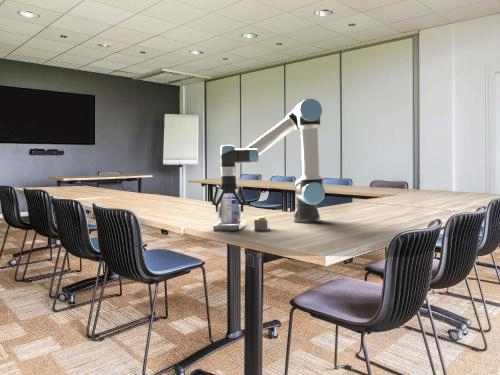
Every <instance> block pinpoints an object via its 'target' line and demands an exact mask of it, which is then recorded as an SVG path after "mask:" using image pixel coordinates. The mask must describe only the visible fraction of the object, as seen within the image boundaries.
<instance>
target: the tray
mask: <svg viewBox="0 0 500 375" xmlns="http://www.w3.org/2000/svg"><path fill="white" fill-rule="evenodd" d="M246 225H247V224H246V220H239V223H234V224H231V223H223V222H220V221H218V222H217V223H215V224H213V226H212V227H213V228H212V229H213V231H240V230H242V227H243V228H244V227H246Z"/></svg>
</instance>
